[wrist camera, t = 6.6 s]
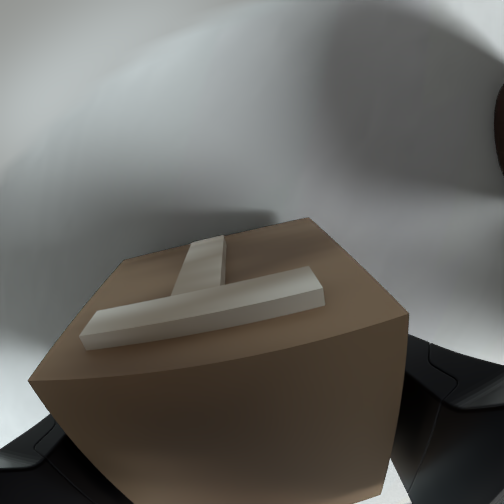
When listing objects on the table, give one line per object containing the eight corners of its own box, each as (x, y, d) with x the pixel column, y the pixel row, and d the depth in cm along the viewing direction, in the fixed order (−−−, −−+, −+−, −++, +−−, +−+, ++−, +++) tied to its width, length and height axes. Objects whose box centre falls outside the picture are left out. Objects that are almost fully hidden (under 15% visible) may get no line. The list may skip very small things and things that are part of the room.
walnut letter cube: (307, 207, 9) (409, 294, 4) (328, 366, 11) (380, 494, 6) (120, 251, 9) (18, 366, 4) (181, 395, 11) (163, 526, 6)
